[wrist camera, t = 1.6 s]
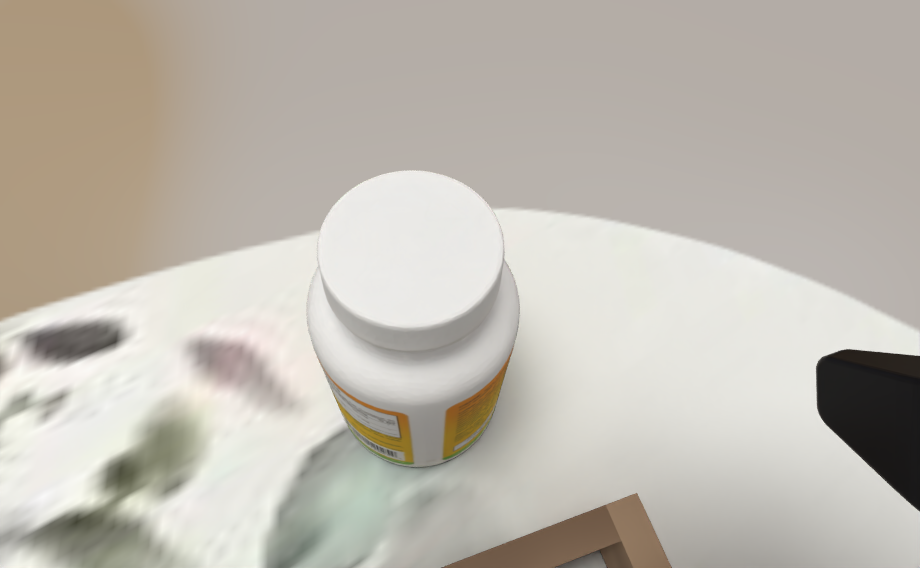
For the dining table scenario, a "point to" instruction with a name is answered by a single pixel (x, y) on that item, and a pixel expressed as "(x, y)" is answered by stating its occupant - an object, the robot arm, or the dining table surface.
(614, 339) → the dining table surface
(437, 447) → the supplement bottle
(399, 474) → the dining table surface
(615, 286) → the dining table surface
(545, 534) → the walnut collar
